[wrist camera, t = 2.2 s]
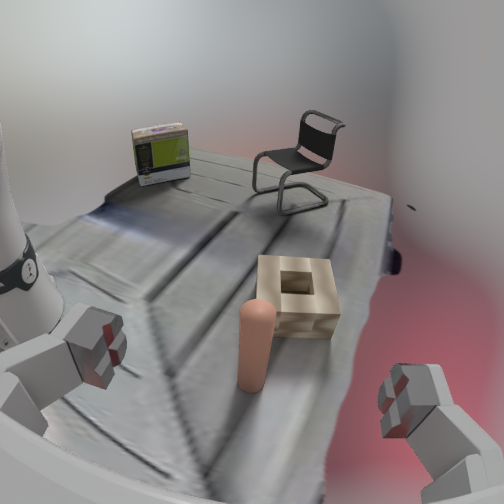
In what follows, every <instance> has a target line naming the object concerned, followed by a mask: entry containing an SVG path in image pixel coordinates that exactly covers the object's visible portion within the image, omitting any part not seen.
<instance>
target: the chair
mask: <svg viewBox="0 0 504 504" xmlns="http://www.w3.org/2000/svg"><path fill="white" fill-rule="evenodd" d="M309 114H315V115H318V116H320V117H323V118H325V119H327V120H329V121H332V122H334V123H336V124H337V125H336V126H335V127H334V129H333V130H332V133H331V134H327V133H324V132H321V131H319V130H316V129H314V128H313V127H311V126H309V125H307V124H306V123H305V119H306V117H307V116H308V115H309ZM345 125H346V124H345V123H344V122H342V121H340V120H337V119H335V118H333V117H330V116H328V115H325V114H323V113H320V112H318V111H315V110H308V111H306V112H305V113H304V114H303V116H302V118H301V121H300V131H299V140H298V144H297V146H296V147H295V148H287V149H280V150H272V151H265V152H262V153H259V154H258V155H257V156H256V157H255V159H254V163H253V181H252V187H253V190H254V191H255V192H257V193H264V192H269V191H274V190H278V189H279V192H278V201H277V210H278V212H279V213H280V214H281V215H288V214H292V213H296V212H300V211H304V210H308V209H312V208H316V207H320V206H324V205H326V204H327V203H328V198H327V197H326V196H325V195H324V194H322V193H321V192H319V191H318V190H317V189H315V188H314V187H312V186H311V185H309V184H307V183H304V182H294V183H289V184H284V182H285V180H286V178H287V177H288V176H290V175H294V174H300V173H306V172H312V171H319V170H323V169H325V168H327V167H328V166H329V164H330V163H331V160H332V156H333V150H334V144H335V139H336V133H337V131H338V129H340V128H341V127H345ZM301 145H302V146H303V147H305V148H306V149H308V150H310V151H312V152H313V153H315V154H317V155H319V156H321V157H323V158H325V159H327V161H326V162H325V163H324V164H323V165H321V164H318V163H316V162H314V161H311V160H310V159H308V158H306V157H305V156H303V155H302V154H300V153H299V152H298V151H297V150H298V149H300V147H301ZM263 156H268V157H269V158H271V159H272V160H273V161H274V162H276V163H277V164H279V165H281V166H282V167H284V168H286V169H289V171H287V172H285V173H284V174H283V175H282V177H281V179H280V182H279V186H273V187H268V188H263V189H258V188H257V186H256V184H257V168H258V161H259V159H260V158H261V157H263ZM294 186H305V187H307V188H309V189H310V190H312V191H313V192H314V193H316V194H317V195H318V196H320V197H321V198H322V199H324V201H323V202H319V203H315V204H311V205H307V206H302V207H298V208H294V209H290V210H285V211H284V210H282V199H283V190H284V188H289V187H294Z"/></svg>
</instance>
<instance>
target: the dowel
mask: <svg viewBox="0 0 504 504" xmlns="http://www.w3.org/2000/svg"><path fill="white" fill-rule="evenodd" d="M275 320H276V309H275V307H274V306H273V305H272V304H271V303H270V302H268V301H266V300H263V299H252V300H249V301H247V302H245V303H244V304H243V305H242V307H241V309H240V330H239V362H238V385H239V387H240V388H241V389H242V390H243V391H244V392H247V393H256V392H258V391H260V390H261V389H262V388H263V386H264V383H265V377H266V372H267V366H268V361H269V355H270V349H271V344H272V338H273V332H274V326H275Z"/></svg>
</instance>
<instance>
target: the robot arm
mask: <svg viewBox="0 0 504 504" xmlns="http://www.w3.org/2000/svg"><path fill="white" fill-rule="evenodd" d="M2 139H3V135H2V127H1V122H0V349H2V350H3V352H0V504H229V503H223V502H218V501H213V500H208V499H203V498H199V497H195V496H190V495H186V494H182V493H179V492H175V491H171V490H168V489H164V488H161V487H158V486H154V485H151V484H148V483H145V482H142V481H139V480H136V479H133V478H131V477H128V476H125V475H122V474H120V473H117V472H115V471H112V470H110V469H107V468H105V467H102V466H100V465H98V464H95V463H93V462H91V461H89V460H86V459H84V458H82V457H80V456H78V455H76V454H74V453H72V452H69V451H67V450H65V449H64V448H62V447H60V446H58V445H56V444H54V443H52V442H50V441H48V440H47V439H45V438H43V435H44V433H45V431H46V429H47V427H48V422H47V420H46V419H45V418H44V416H43V415H42V413H41V412H40V410H42V409H44V408H45V407H47V406H48V405H50V404H51V403H53V402H55V401H56V400H58V399H59V398H61V397H62V396H64V395H65V394H67V393H68V392H70V391H72V390H73V389H75V388H76V387H78V386H79V385H81V384H82V383H83V382H85V383H88V384H90V385H93V386H96V387H99V388H102V389H105V390H106V389H107V387H108V385H109V384H110V382H111V380H112V378H113V376H114V375H115V373H114V369H113V367H115V366H117V365H119V364H121V362H122V360H123V358H124V356H125V353H126V349H127V340H126V335H125V334H124V333H123V332H122V330H121V328H122V327H123V325H124V324H123V320H122V316H120V315H118V314H114V313H111V312H108V311H105V310H102V309H98V308H95V307H92V306H88V305H85V304H83V303H77V304H75V305H74V306H73V307H72V308H71V309H70V311H69V312H68V313H67V314H66V315H65V316H64V318H63V319H62V320H61V321H60V322H59V324H58V325H57V326H56V324H57V323H58V321H59V319H60V317H61V315H62V311H63V299H62V296H61V294H60V293H59V291H58V290H57V289H56V284H55V279H54V278H53V276H52V275H48V273H47V271H46V269H45V268H44V266H43V264H42V262H41V261H40V259H39V257H38V255H37V254H36V253H35V251H34V249H33V245H32V243H31V241H30V240H29V237H28V236H27V235H26V234H25V233H24V231H23V228H22V226H21V223H20V220H19V217H18V214H17V212H16V209H15V206H14V203H13V199H12V196H11V192H10V187H9V181H8V173H7V167H6V160H5V153H4V147H3V140H2ZM55 326H56V327H55ZM54 327H55V328H54ZM53 328H54V330H53V331H52V329H53ZM51 331H52V332H51ZM50 332H51V333H50ZM48 333H50V335H49V334H48ZM390 374H391V377H389V378H387V379H385V380H384V381H383V383H382V385H381V386H380V389H379V393H378V409H379V410H380V411H381V412H382V413H383V414H384V415H383V417H382V418H381V420H380V423H381V431H382V438H407V439H406V441H407V442H408V443H409V445H410V446H411V448H412V449H413V450H414V452H415V454H416V455H417V456H418V458H419V459H420V461H421V462H422V464H423V465H424V466H425V468H426V469H427V471H428V472H429V474H430V475H431V477H432V478H433V480H434V481H433V482H432V483H430V484H429V485H427V486H426V487H424V488H423V489H422V490H421V498H422V499H421V500H422V504H504V458H503V455H502V451H501V448H500V447H499V446H498V445H497V443H496V442H495V441H494V440H493V439H492V438H491V437H490V436H488V434H487V433H486V432H485V431H484V430H483V429H482V428H481V427H480V426H479V425H478V424H477V423H476V422H474V420H473V419H472V418H471V417H470V416H469V415H468V414H467V413H465V411H464V410H463V409H462V408H460V407H459V406H458V405H454V403H453V400H452V397H451V394H450V391H449V388H448V385H447V382H446V379H445V376H444V373H443V371H442V368H441V367H440V366H439V365H434V364H411V363H396V364H395V365H393V367H392V368H391V370H390Z"/></svg>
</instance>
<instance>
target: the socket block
mask: <svg viewBox="0 0 504 504" xmlns="http://www.w3.org/2000/svg"><path fill="white" fill-rule="evenodd" d="M256 299H263V300H266V301H268V302H270V303H271V304H272V305H273V306H274V307H275V309H276V320H275V326H274V332H273V337H288V338H319V339H331V338H332V335H333V333H334V330H335V328H336V325H337V323H338V320H339V317H340V315H341V312H340V307H339V302H338V297H337V292H336V287H335V282H334V277H333V272H332V268H331V263H330V259H315V258H300V257H285V256H270V255H259V256H258V268H257V281H256Z"/></svg>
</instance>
